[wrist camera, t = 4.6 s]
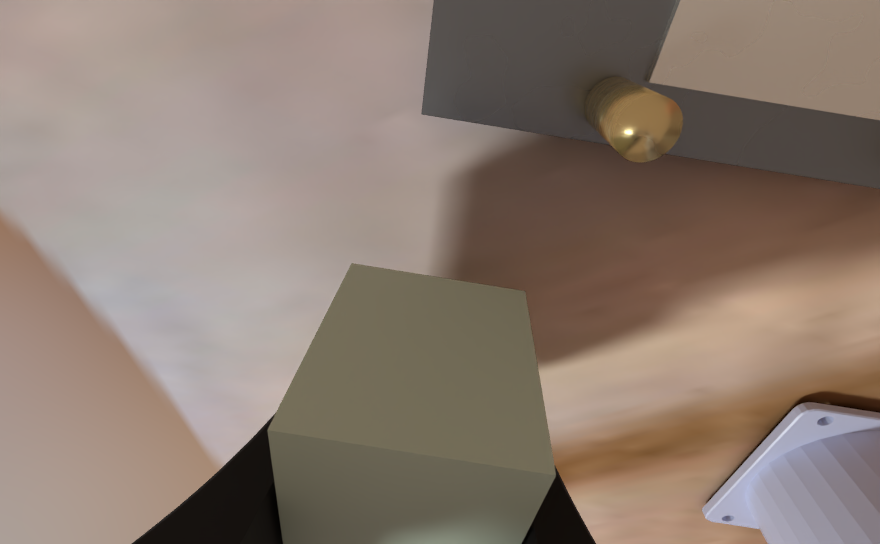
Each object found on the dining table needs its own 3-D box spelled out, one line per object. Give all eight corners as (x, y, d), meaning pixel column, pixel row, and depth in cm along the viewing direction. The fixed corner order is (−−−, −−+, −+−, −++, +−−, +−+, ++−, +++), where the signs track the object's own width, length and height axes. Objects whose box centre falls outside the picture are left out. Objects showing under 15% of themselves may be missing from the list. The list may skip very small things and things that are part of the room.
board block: (524, 291, 11) (555, 475, 6) (475, 453, 14) (473, 637, 10) (351, 263, 11) (267, 429, 6) (347, 433, 14) (292, 610, 10)
